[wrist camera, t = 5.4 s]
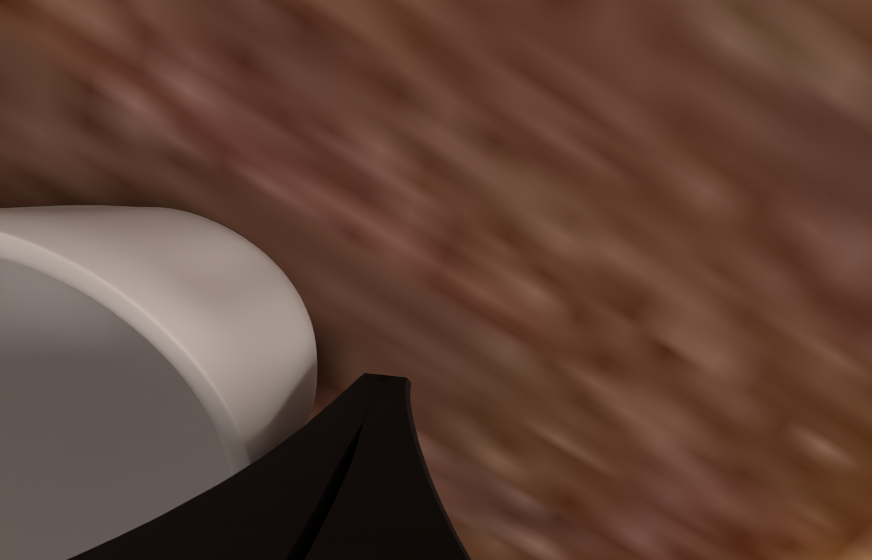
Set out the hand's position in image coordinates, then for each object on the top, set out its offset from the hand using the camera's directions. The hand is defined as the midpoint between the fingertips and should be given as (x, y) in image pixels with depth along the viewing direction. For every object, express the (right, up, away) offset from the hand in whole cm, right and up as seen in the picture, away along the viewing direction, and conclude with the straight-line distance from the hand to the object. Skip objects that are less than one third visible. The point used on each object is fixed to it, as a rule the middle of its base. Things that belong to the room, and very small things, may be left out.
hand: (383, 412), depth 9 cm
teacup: (-4, +1, +2) cm, 5 cm away
